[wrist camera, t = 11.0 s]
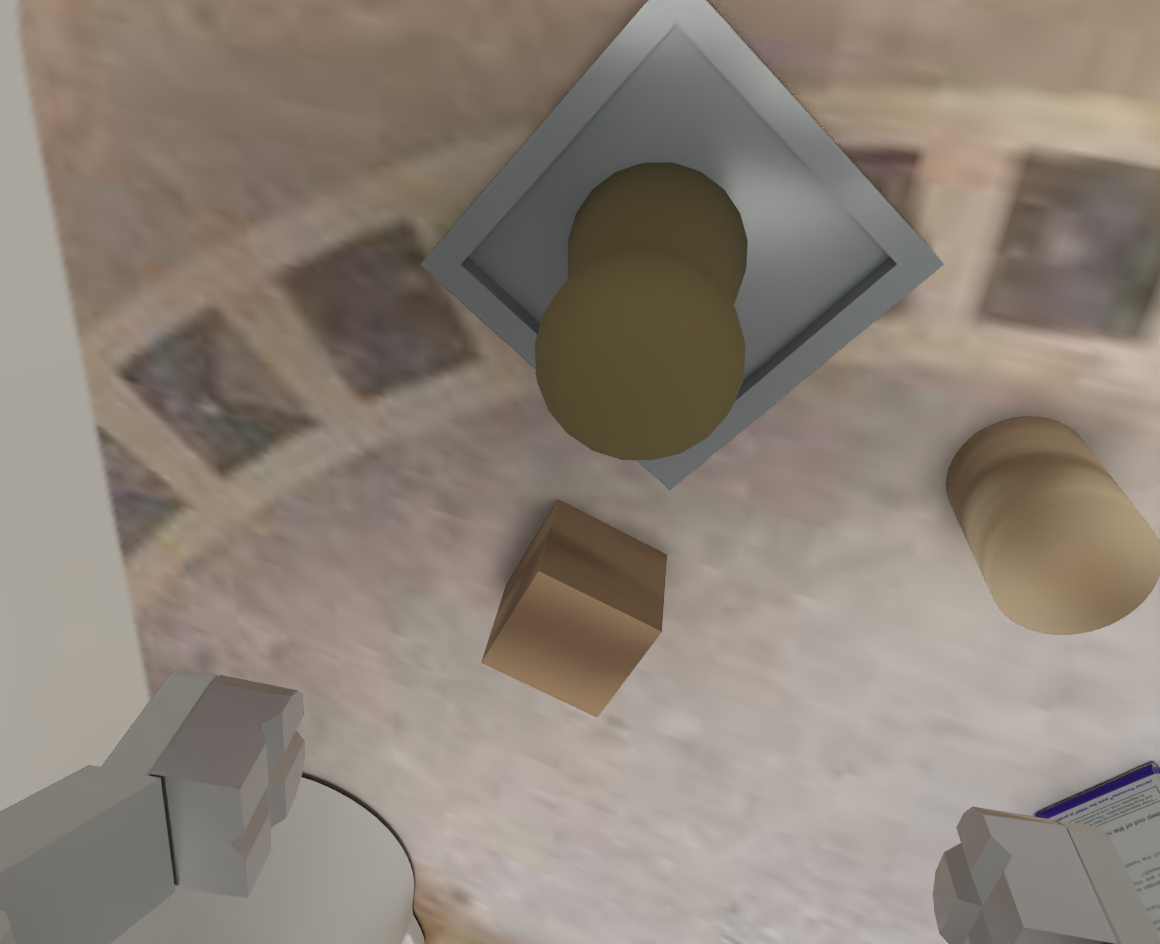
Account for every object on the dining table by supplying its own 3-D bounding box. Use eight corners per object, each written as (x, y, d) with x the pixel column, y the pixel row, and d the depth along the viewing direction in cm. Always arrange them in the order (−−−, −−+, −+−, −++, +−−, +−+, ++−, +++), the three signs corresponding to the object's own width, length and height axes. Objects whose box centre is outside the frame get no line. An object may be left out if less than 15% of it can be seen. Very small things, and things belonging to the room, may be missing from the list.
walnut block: (609, 635, 40) (597, 717, 35) (506, 584, 39) (481, 662, 35) (666, 553, 37) (661, 631, 33) (558, 498, 37) (538, 570, 32)
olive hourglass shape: (658, 119, 29) (635, 197, 19) (786, 255, 30) (823, 390, 21) (531, 253, 31) (454, 382, 22) (655, 372, 33) (633, 540, 23)
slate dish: (671, 469, 35) (669, 490, 34) (432, 251, 32) (419, 264, 31) (932, 250, 30) (943, 264, 29) (678, -33, 27) (676, -33, 26)
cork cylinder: (999, 557, 36) (1050, 659, 30) (918, 475, 34) (956, 567, 29) (1119, 480, 33) (1195, 576, 28) (1037, 389, 32) (1101, 472, 27)
